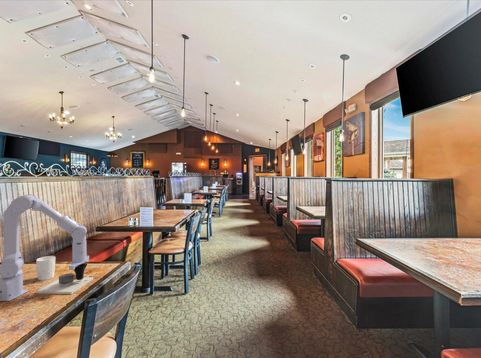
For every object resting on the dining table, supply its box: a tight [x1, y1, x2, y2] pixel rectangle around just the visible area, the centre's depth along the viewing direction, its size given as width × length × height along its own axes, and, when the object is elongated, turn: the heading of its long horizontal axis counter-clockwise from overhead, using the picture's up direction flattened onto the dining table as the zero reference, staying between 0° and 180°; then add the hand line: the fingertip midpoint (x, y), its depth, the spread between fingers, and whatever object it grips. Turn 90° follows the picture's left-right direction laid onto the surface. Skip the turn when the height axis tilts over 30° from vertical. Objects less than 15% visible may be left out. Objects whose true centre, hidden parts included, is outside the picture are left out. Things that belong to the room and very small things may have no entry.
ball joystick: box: [58, 272, 85, 284], centre depth 124 cm, size 10×6×2 cm, turn 128°
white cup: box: [35, 255, 56, 281], centre depth 133 cm, size 8×8×10 cm
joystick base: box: [35, 276, 94, 295], centre depth 123 cm, size 16×16×2 cm
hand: (79, 279), depth 125 cm, fingers closed, pressing on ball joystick
